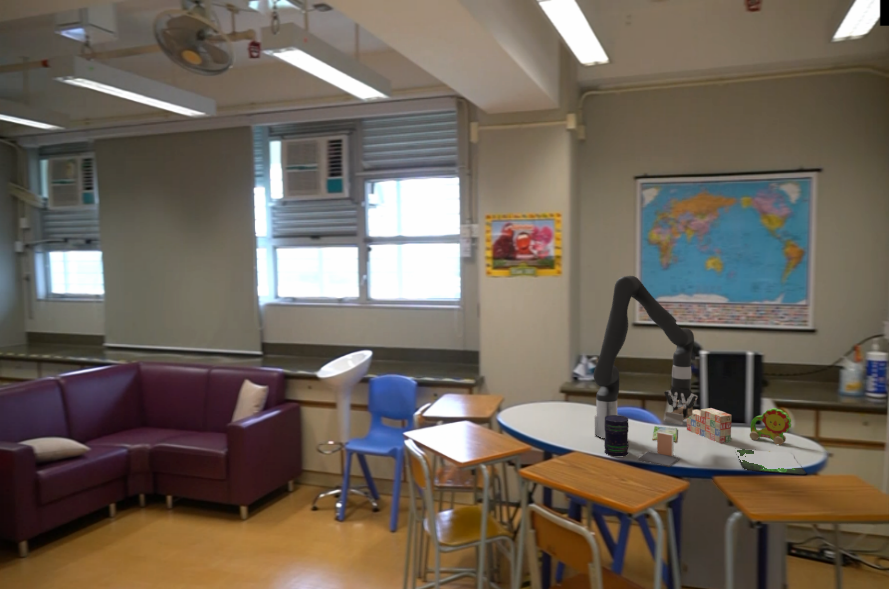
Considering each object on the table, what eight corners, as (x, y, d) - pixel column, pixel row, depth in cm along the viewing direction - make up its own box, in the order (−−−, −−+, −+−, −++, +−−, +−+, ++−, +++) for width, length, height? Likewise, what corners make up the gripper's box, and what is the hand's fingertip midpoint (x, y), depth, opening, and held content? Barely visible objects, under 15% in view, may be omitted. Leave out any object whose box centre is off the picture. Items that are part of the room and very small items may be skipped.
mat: (637, 460, 248) (637, 458, 248) (648, 452, 256) (648, 451, 256) (669, 466, 240) (669, 465, 239) (679, 459, 248) (679, 457, 248)
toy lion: (748, 439, 270) (749, 406, 269) (753, 436, 274) (753, 403, 273) (788, 447, 259) (788, 412, 258) (792, 444, 263) (792, 409, 262)
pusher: (680, 412, 265) (680, 403, 265) (697, 415, 261) (697, 406, 260) (665, 421, 252) (665, 412, 252) (681, 424, 248) (682, 415, 248)
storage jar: (604, 448, 263) (603, 414, 262) (627, 449, 261) (627, 415, 260) (604, 456, 253) (604, 421, 252) (629, 457, 251) (629, 422, 250)
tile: (657, 453, 255) (657, 432, 254) (659, 452, 256) (659, 431, 256) (671, 456, 251) (671, 435, 250) (673, 455, 252) (673, 434, 252)
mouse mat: (733, 448, 260) (733, 446, 260) (791, 452, 253) (791, 450, 253) (743, 471, 234) (743, 468, 234) (807, 476, 227) (807, 474, 227)
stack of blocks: (686, 430, 286) (686, 404, 285) (697, 428, 288) (697, 403, 287) (719, 443, 266) (720, 416, 265) (731, 441, 268) (731, 414, 267)
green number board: (652, 441, 272) (676, 443, 269) (652, 438, 272) (676, 440, 269) (654, 428, 291) (676, 430, 287) (654, 425, 291) (676, 427, 287)
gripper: (661, 375, 256) (660, 415, 257) (695, 380, 246) (694, 421, 248) (668, 372, 261) (667, 411, 263) (701, 377, 252) (700, 417, 254)
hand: (680, 416), depth 256 cm, fingers closed on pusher, 3 cm apart
